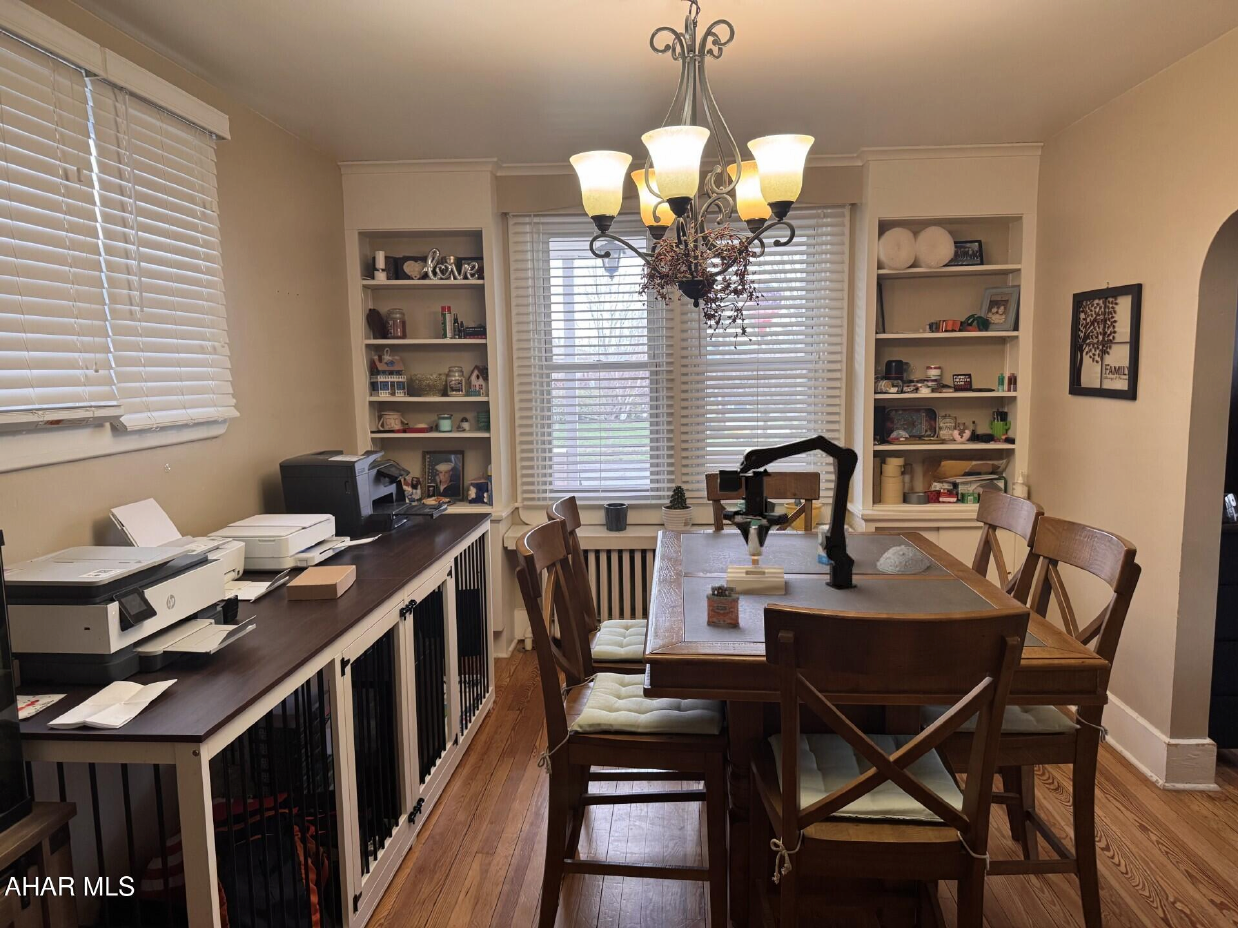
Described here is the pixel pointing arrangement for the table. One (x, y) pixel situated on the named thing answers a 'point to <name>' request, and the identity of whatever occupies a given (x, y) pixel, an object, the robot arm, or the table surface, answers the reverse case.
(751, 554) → the cylinder
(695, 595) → the table surface
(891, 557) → the grey textured dome
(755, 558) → the pin
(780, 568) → the dock
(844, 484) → the robot arm
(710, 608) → the lighter
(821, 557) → the ink box
